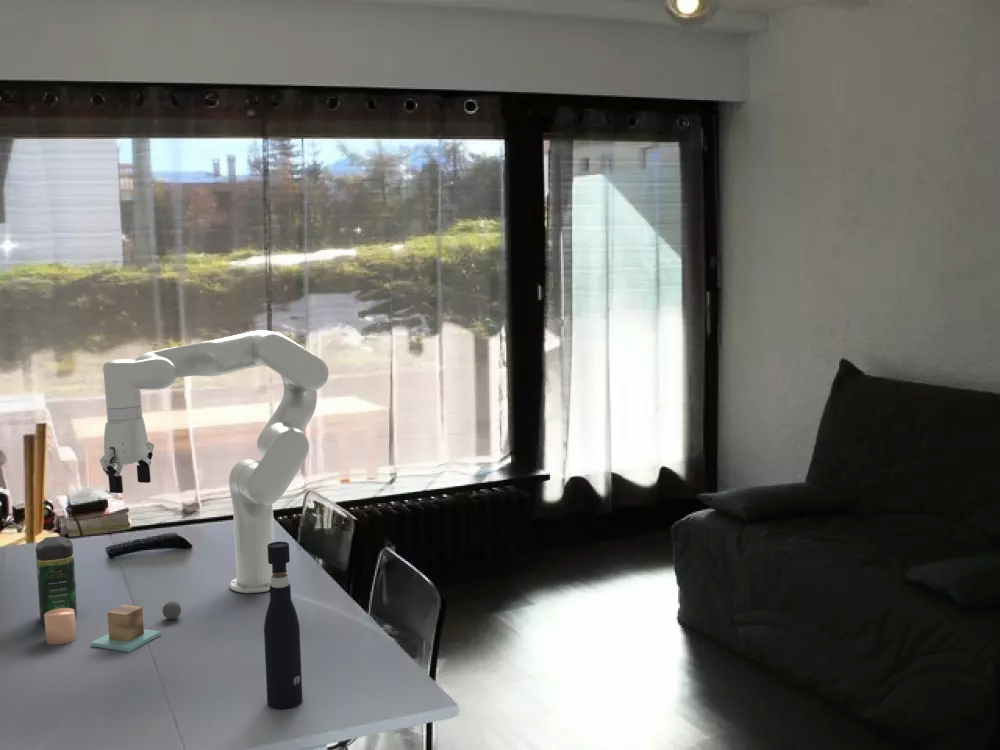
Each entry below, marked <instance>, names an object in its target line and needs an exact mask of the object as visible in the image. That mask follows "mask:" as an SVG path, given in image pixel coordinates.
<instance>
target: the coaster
mask: <svg viewBox="0 0 1000 750" xmlns="http://www.w3.org/2000/svg"><path fill="white" fill-rule="evenodd" d="M161 633H162V632H161V631H158V630H155V629H154V630H153V629H145V628H144V634H143V635H141V636H139V637H137V638H135V639H133V640H131V641H129V642H124V641H117V640H111V639H109V633H107V634H105V635H103V636H101V637H99V638H97V639H95V640H93V641H91V642H90V645H91V647H96V648H100V649H102V648H103V649H109V650H115V651H121V652H127V653H130V652H132V651H134V650H136V649H138V648H139V647H141V646H143V645H145V644H147V643H149V642H150V641H153V640H154V639H156V638H157V637H159V636H161Z"/></svg>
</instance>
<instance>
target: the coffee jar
mask: <svg viewBox="0 0 1000 750" xmlns="http://www.w3.org/2000/svg"><path fill="white" fill-rule="evenodd" d="M35 559H36V572H37V588H38V607H39V618H40V619H39V620H40V622H42V624H44V625H45V618H44V614H45V613H46V612H48V611H50V610H53V609H58V608H72V609H74V612H75V618H77V615H78V608H77V606H78V605H77V585H76V568H75V567H76V566H75V555H74V546H73V541H72V540H71V539H69V538H67V537H65V536H63V535H57V536H47V537H45V538H44V539H42V540H40V541H39V542H38V543H37V544H36V547H35Z"/></svg>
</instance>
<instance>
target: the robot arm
mask: <svg viewBox="0 0 1000 750" xmlns="http://www.w3.org/2000/svg"><path fill="white" fill-rule="evenodd" d="M262 366H264V367H268V368H270V369H271V370H273V371H274V372H276V373H277V374H279V375H280V378H281V381H282V384H283V395H282V399H281V401H280V403H279V404H278V405H277V408H276V410H275V411H274V412H273V414H272V416H271V417H270V419H269V420H268V422H267V423H266V425H265V426H264V427H263V429H262V431H261V432H260V434H259V436H258V438H257V441H256V447H257V450H258V452H259V453H260V455H262V458H261V460H258V459H255V458H246V459H242V460H240V461H238V462H237V463H236V464H234V466H232V468H231V470H230V473H229V477H228V485H229V487H228V488H229V492H230V498H231V505H232V514H233V534H234V535H233V536H234V537H233V538H234V554H235V556H234V558H235V576H236V577H235V578H234V579H232V580H230V582H229V586H230V589H231V590H232V591H234V592H237V593H241V594H242V593H244V594H255V593H256V594H257V593H263V592H264V593H265V592H270V591H269V590H270V585H271V580H270V579H271V576H272V575H273V573H272V564H269V563H268V547H267V545H268V544H270V543H273V542H275V532H274V531H275V529H274V525H275V524H274V521H275V520H274V510H273V504H275V503H276V502H278V501H279V500H280V499H281V498H282V497H283V496H284V494H285V492H286V491H287V489H288V488H289V487H290V485H291V483H292V482H293V481H294V479H295V477H297V474H298V473H299V471H300V470H301V468H302V467H303V465H304V463H305V462H306V459H307V457H308V454H309V449H310V445H309V444H310V443H309V439H308V437H307V435H306V434H305V433H304V432H305V429H306V428H307V426H308V424H309V423H310V421H311V419H312V417H313V415H314V414H315V410H316V407H317V400H318V399H317V390H319V389H321V388H323V387H324V386H325V385H326V383H327V381H328V378H329V368H328V366H327V363H326V362H325V360H323V359H322V358H321V357H319V355H316V354H314V353H313V352H311V351H310V350H308V349H307V348H305V347H303V346H302V345H300V344H298V343H296V342H295V341H294V340H292V339H290V338H289V337H287V336H285V335H283V334H282V333H279V332H276V331H271V330H265V329H259V330H254V331H253V330H252V331H248V332H244V333H240V334H236V335H231V336H226V337H221V338H218V339H213V340H207V341H202V342H201V341H200V342H195V343H192V344H187V345H186V344H185V345H179V346H175V347H174V346H173V347H170V348H163V349H160V350H155V351H151V352H150V351H149V352H146V353H143V354H141V355H139V356H138V357H137V358H136V359H130V358H120V359H111V360H108V361H106V362H105V363H104V364H103V368H102V370H103V381H104V385H103V386H104V395H105V406H106V407H105V408H106V419H107V422H105V426H104V432H103V433H104V434H103V445H104V446H103V447H104V448H103V449H104V451H103V452H104V455H102V457H101V458H100V459H99V463H100V465H101V467H102V471H104V473H105V475H106V476H107V478H108V486H109V493H111V494H122V493H124V485H123V475H120V474H121V471H122V470H123V467H124V466H129V465H131V464H135V463H137V464H138V465H136V474H137V482H138V483H143V484H144V483H145V484H149V483H151V480H152V479H151V469H150V468H151V464H152V458H153V456H154V455H153V453H154V448H155V445H154V443H152V442H149V441H148V436H147V434H148V433H147V429H146V425H145V421H144V417H143V412H142V411H143V408H142V395H141V390H150V391H152V390H153V391H158V390H159V391H160V390H165V389H167V388H169V387H170V386H172V385H173V384H174V383H175V381H176V380H177V379H179V378H186V377H196V376H197V377H198V376H199V377H217V376H218V377H219V376H223V375H228V374H231V373H234V372H238V371H243V370H247V369H252V368H255V367H262Z"/></svg>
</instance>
